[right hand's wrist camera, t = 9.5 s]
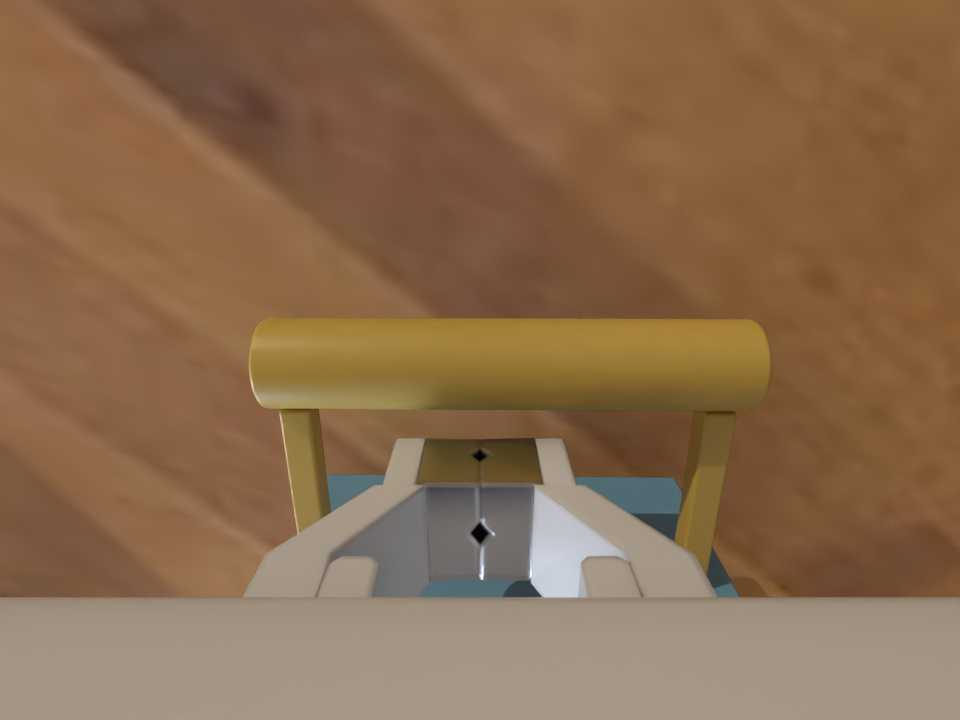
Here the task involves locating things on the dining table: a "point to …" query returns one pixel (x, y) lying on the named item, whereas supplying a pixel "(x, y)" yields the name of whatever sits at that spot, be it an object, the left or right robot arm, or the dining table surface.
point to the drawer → (520, 400)
